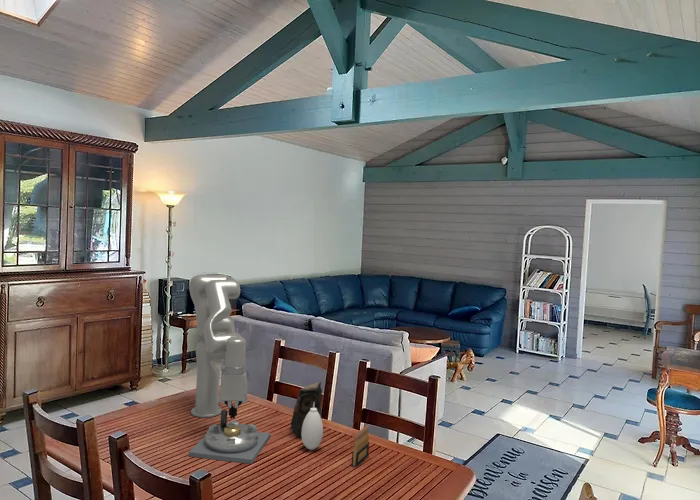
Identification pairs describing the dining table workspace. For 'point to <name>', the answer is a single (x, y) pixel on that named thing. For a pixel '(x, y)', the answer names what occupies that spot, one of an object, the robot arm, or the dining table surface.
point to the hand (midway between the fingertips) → (232, 417)
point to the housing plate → (242, 457)
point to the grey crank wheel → (231, 436)
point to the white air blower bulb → (312, 429)
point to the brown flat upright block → (360, 446)
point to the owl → (306, 406)
